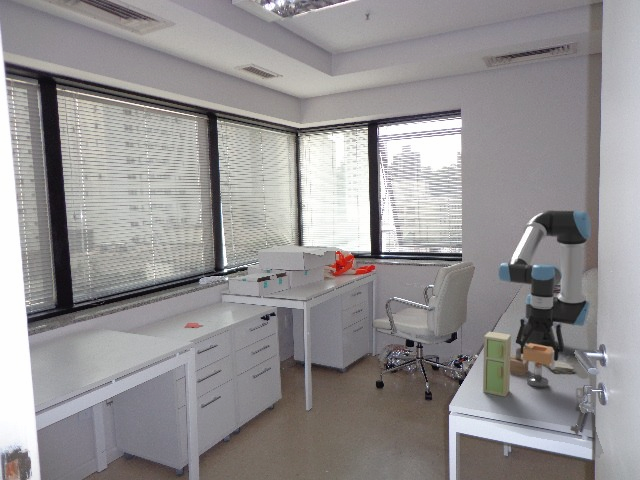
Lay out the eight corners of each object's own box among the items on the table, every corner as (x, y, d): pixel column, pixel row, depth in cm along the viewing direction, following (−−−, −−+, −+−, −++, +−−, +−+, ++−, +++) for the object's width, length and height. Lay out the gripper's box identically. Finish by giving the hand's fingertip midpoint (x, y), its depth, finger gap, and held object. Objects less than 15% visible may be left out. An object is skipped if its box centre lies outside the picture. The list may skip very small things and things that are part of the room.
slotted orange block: (529, 353, 179) (529, 343, 178) (554, 358, 173) (555, 347, 173) (522, 359, 172) (523, 349, 171) (549, 365, 166) (549, 354, 166)
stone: (534, 361, 199) (535, 355, 199) (560, 361, 199) (560, 355, 198) (550, 374, 184) (550, 368, 184) (577, 374, 184) (577, 368, 184)
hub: (529, 379, 179) (530, 359, 178) (550, 383, 174) (551, 363, 173) (524, 385, 173) (525, 364, 172) (545, 390, 169) (546, 369, 168)
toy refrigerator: (481, 392, 167) (483, 336, 164) (486, 385, 173) (488, 331, 170) (504, 398, 162) (507, 340, 160) (509, 390, 168) (511, 334, 166)
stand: (511, 366, 191) (512, 344, 190) (528, 370, 187) (529, 347, 186) (507, 371, 186) (508, 348, 185) (523, 375, 182) (525, 352, 181)
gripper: (507, 304, 174) (505, 361, 176) (572, 313, 161) (569, 375, 163) (513, 300, 180) (511, 356, 182) (576, 309, 167) (572, 369, 169)
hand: (538, 365), depth 173 cm, fingers closed on slotted orange block, 9 cm apart
